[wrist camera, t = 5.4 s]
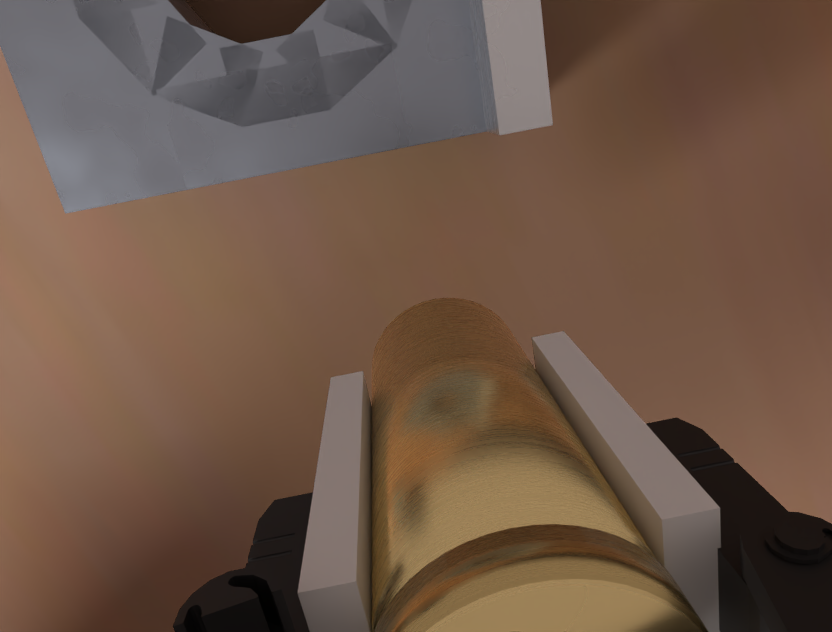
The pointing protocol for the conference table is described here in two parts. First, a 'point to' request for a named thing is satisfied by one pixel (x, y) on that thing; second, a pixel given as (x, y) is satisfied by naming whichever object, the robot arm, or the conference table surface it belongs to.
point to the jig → (261, 87)
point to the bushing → (495, 495)
